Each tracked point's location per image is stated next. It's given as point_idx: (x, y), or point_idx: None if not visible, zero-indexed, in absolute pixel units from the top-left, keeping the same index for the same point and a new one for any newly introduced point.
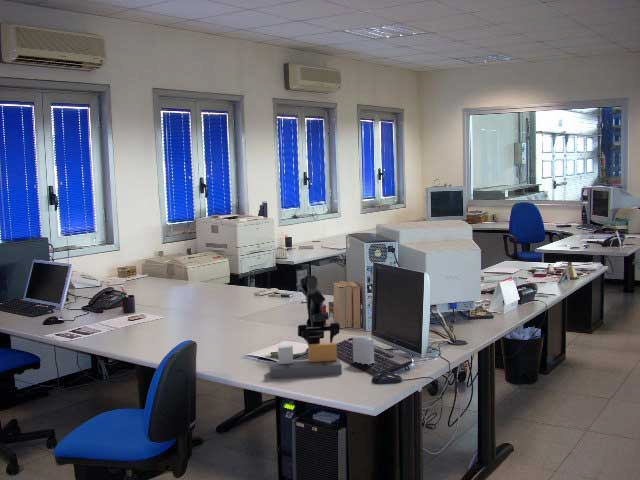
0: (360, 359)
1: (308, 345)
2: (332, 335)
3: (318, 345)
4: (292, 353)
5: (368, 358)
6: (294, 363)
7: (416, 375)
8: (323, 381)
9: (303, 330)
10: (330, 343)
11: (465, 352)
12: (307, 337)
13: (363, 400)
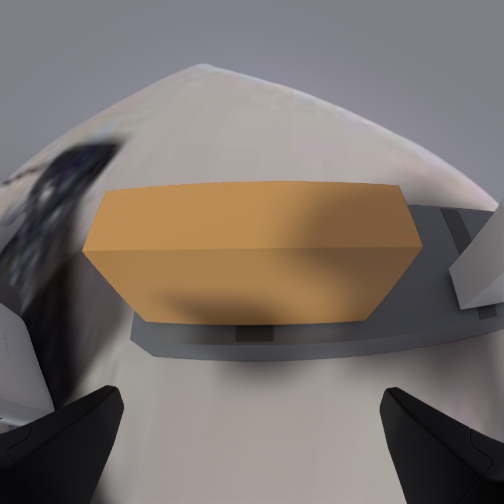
0: (24, 355)
1: (409, 216)
2: (17, 434)
3: (298, 182)
4: (482, 230)
5: (4, 307)
6: (442, 282)
7: (5, 194)
8: (275, 169)
9: None
10: (142, 228)
11: None
12: (477, 442)
13: (199, 79)
